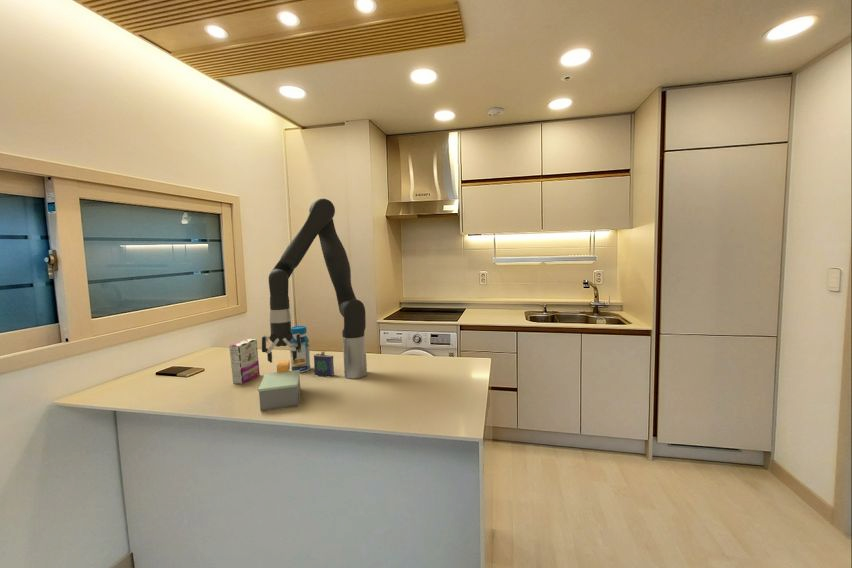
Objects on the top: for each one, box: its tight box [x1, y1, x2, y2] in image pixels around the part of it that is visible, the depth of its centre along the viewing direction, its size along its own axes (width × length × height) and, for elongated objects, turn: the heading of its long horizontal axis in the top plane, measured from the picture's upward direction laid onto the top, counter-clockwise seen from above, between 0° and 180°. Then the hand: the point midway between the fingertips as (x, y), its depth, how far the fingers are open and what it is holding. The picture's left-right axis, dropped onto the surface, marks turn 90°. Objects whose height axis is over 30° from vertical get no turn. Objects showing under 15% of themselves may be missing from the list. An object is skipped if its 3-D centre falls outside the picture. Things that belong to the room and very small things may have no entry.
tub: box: [258, 373, 301, 412], centre depth 130 cm, size 12×16×7 cm
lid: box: [257, 360, 301, 393], centre depth 133 cm, size 12×23×4 cm, turn 16°
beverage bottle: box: [289, 325, 311, 374], centre depth 162 cm, size 8×8×20 cm
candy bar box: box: [229, 338, 261, 385], centre depth 153 cm, size 11×5×16 cm, turn 168°
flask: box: [313, 350, 335, 377], centre depth 155 cm, size 9×3×11 cm, turn 74°
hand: (282, 360), depth 141 cm, fingers open, 8 cm apart
